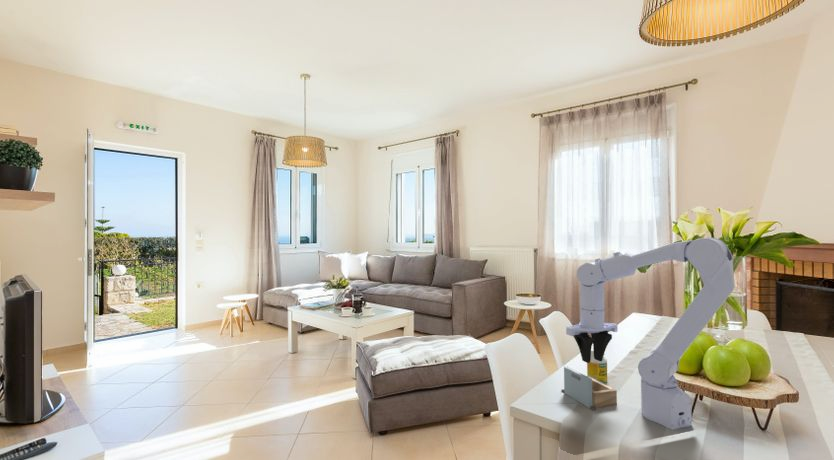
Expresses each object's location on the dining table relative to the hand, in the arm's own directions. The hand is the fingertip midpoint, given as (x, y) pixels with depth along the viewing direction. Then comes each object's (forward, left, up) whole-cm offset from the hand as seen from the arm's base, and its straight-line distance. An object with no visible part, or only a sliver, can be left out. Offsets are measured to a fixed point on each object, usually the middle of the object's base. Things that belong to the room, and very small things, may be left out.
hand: (592, 360), depth 100 cm
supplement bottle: (+10, -10, -11) cm, 18 cm away
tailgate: (0, +5, -9) cm, 11 cm away
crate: (0, +1, -10) cm, 10 cm away
